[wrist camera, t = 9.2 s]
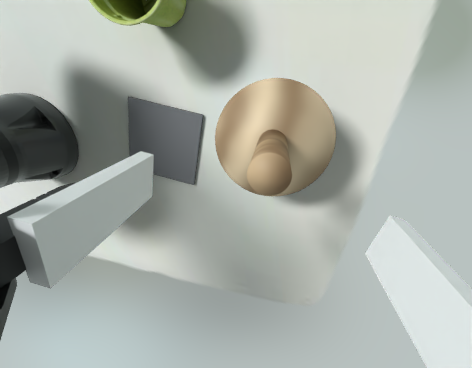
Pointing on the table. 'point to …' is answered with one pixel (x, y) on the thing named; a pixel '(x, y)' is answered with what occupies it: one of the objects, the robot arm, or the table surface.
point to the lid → (275, 137)
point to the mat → (166, 138)
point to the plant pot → (141, 11)
